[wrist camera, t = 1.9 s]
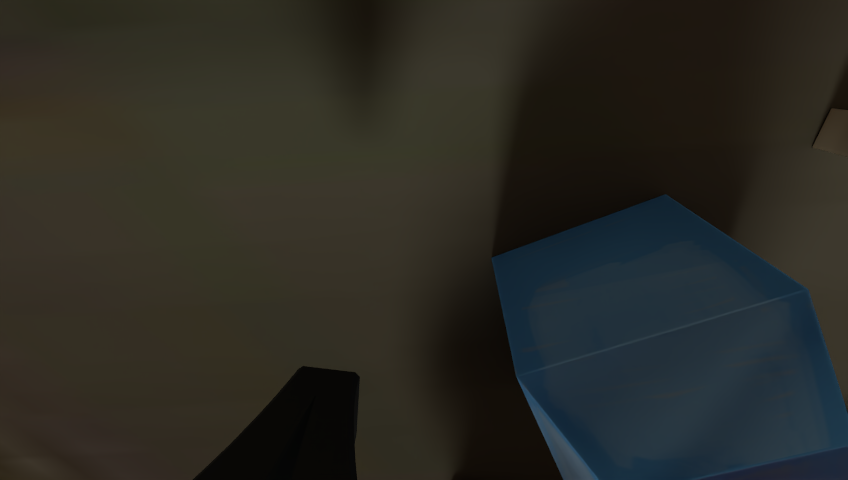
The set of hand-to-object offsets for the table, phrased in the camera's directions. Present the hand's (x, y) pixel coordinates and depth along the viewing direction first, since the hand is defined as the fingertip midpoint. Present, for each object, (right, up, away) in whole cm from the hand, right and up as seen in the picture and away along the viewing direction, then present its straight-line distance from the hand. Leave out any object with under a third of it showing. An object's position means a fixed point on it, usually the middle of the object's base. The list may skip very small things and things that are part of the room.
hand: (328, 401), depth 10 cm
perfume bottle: (+9, +2, +6) cm, 11 cm away
